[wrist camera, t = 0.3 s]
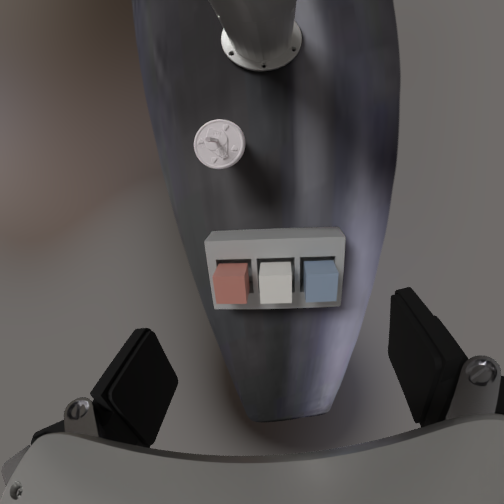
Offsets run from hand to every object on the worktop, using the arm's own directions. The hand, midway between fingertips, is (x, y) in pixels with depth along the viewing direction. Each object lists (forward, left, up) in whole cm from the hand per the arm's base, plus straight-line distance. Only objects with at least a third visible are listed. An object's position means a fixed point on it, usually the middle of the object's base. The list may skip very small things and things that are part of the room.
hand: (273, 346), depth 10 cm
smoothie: (-8, -7, -36) cm, 37 cm away
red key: (+12, -7, -30) cm, 33 cm away
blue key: (+12, +6, -30) cm, 33 cm away
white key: (+12, -1, -30) cm, 33 cm away
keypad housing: (+12, -1, -35) cm, 37 cm away
